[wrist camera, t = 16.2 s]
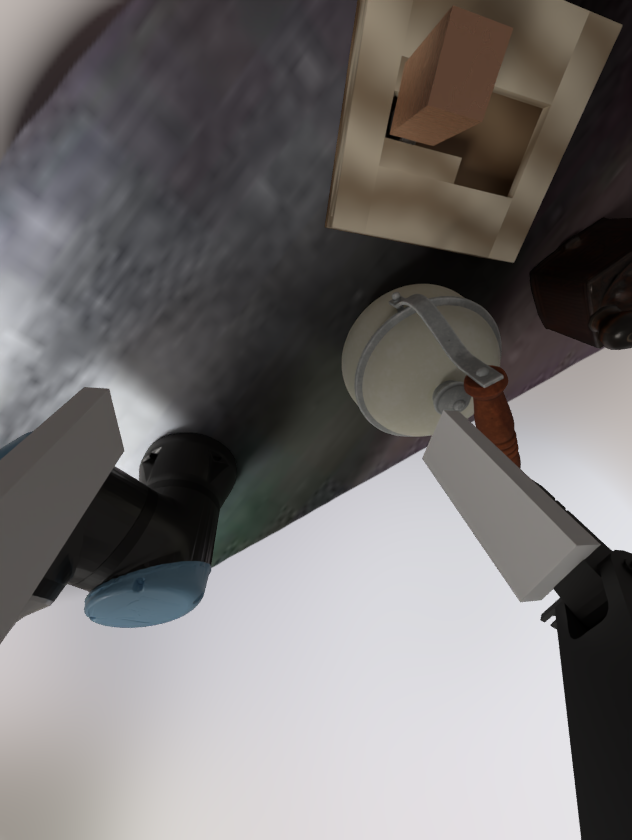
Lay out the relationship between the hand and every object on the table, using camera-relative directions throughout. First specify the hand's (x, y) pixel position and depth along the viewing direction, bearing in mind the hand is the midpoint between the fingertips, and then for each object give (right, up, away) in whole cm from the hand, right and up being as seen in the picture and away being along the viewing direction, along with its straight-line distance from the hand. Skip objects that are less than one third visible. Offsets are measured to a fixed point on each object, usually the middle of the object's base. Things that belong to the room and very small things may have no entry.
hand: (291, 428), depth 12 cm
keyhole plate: (+14, +30, +19) cm, 38 cm away
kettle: (+13, +10, +32) cm, 37 cm away
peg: (+9, +29, +17) cm, 35 cm away
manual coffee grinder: (+35, +19, +30) cm, 50 cm away
